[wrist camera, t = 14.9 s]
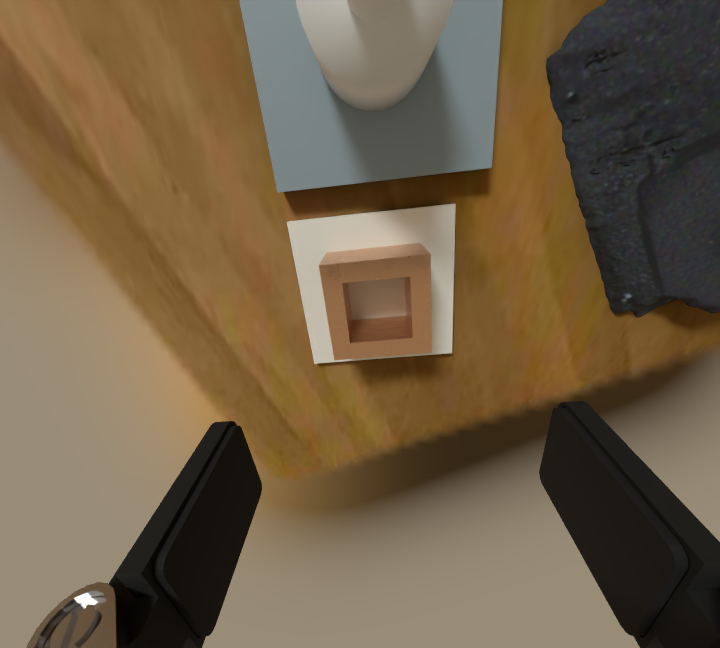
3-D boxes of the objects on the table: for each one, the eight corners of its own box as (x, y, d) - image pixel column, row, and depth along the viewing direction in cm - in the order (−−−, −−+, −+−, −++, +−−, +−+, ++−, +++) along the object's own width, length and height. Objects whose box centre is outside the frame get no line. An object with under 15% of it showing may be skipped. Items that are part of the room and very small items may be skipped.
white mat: (453, 203, 22) (455, 203, 21) (450, 349, 27) (451, 353, 26) (288, 221, 23) (286, 222, 22) (315, 360, 27) (314, 363, 27)
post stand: (501, -149, 15) (807, -914, 5) (483, 168, 21) (600, 152, 10) (227, -98, 16) (-42, -635, 5) (283, 192, 22) (203, 198, 11)
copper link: (420, 242, 22) (430, 253, 19) (422, 328, 25) (431, 352, 22) (326, 252, 23) (318, 265, 19) (339, 335, 26) (334, 360, 22)
